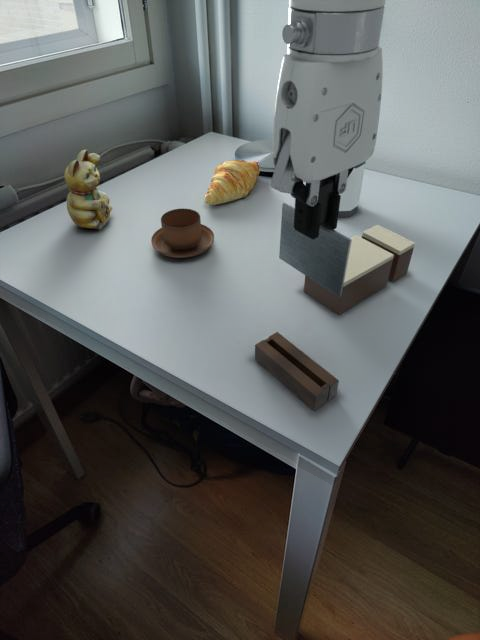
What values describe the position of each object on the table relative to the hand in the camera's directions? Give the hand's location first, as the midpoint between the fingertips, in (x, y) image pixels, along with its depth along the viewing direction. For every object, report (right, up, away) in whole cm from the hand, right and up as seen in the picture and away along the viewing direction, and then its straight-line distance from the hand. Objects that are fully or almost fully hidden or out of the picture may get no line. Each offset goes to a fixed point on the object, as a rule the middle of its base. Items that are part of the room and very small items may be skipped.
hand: (315, 228), depth 50 cm
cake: (+10, -5, +29) cm, 31 cm away
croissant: (-10, +20, +58) cm, 62 cm away
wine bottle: (+13, +14, +50) cm, 53 cm away
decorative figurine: (-39, +10, +47) cm, 62 cm away
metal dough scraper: (0, -5, +5) cm, 7 cm away
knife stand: (-1, -18, +14) cm, 23 cm away
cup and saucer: (-19, +4, +40) cm, 44 cm away
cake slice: (+17, -1, +33) cm, 37 cm away
